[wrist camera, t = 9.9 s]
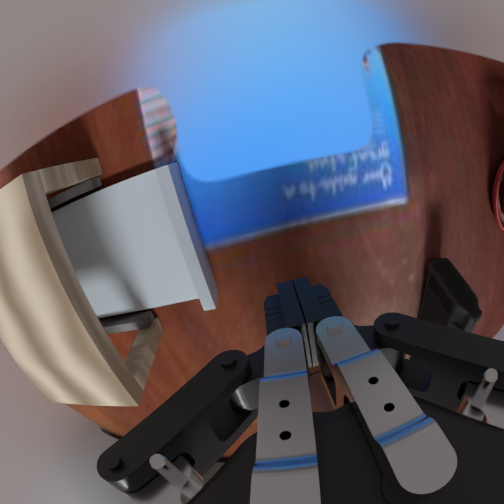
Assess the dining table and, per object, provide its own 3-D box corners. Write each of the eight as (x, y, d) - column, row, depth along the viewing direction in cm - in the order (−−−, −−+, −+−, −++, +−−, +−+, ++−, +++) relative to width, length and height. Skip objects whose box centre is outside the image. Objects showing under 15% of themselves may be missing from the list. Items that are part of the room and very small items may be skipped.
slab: (178, 161, 25) (167, 164, 21) (218, 288, 30) (215, 308, 27) (35, 220, 26) (16, 231, 22) (79, 317, 31) (66, 334, 28)
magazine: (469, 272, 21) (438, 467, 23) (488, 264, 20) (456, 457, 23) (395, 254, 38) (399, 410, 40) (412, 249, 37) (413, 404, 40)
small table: (98, 157, 24) (21, 173, 13) (164, 329, 32) (138, 406, 21) (19, 200, 25) (-48, 231, 14) (83, 340, 32) (47, 401, 21)
